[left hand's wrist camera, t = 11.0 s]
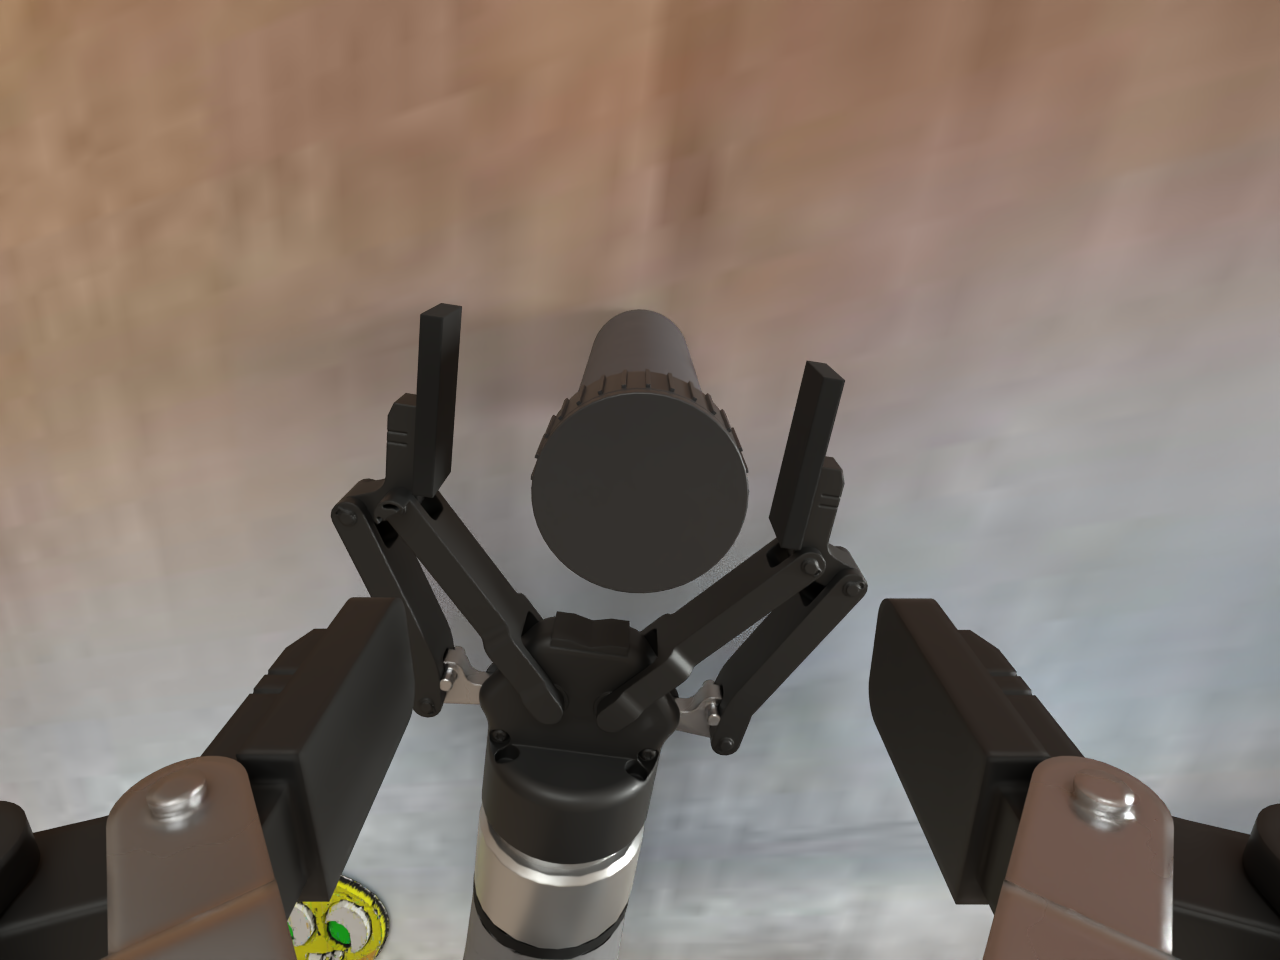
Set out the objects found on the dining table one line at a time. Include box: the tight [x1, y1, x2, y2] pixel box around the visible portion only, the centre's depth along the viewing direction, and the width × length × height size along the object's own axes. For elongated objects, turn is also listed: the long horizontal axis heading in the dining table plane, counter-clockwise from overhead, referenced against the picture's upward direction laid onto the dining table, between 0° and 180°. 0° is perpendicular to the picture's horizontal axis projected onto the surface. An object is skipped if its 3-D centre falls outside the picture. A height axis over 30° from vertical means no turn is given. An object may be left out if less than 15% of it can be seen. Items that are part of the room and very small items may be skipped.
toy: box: [287, 875, 389, 960], centre depth 46 cm, size 10×1×15 cm
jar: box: [578, 310, 702, 392], centre depth 25 cm, size 4×4×16 cm
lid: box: [531, 369, 749, 593], centre depth 19 cm, size 5×5×2 cm
